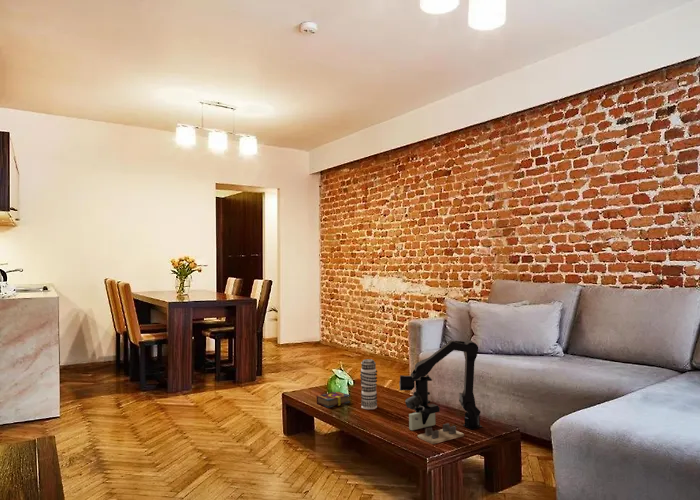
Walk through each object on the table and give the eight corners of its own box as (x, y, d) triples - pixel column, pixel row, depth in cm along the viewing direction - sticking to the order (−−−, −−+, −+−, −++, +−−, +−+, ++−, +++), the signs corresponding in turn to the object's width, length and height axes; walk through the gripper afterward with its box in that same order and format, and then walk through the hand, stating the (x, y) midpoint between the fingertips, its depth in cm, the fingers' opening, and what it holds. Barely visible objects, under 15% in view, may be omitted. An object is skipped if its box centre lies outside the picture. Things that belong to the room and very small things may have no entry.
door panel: (432, 423, 240) (432, 408, 240) (436, 425, 237) (436, 410, 237) (409, 429, 232) (408, 413, 233) (413, 431, 230) (412, 415, 230)
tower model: (378, 409, 264) (377, 361, 265) (360, 409, 264) (359, 361, 265) (377, 404, 273) (376, 358, 274) (360, 404, 274) (359, 358, 274)
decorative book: (316, 403, 277) (316, 394, 278) (339, 398, 287) (339, 389, 288) (328, 408, 269) (328, 399, 269) (351, 402, 279) (351, 393, 279)
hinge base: (448, 429, 232) (448, 420, 232) (463, 436, 223) (463, 426, 223) (417, 437, 222) (417, 428, 222) (432, 444, 214) (432, 434, 214)
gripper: (396, 388, 239) (396, 421, 239) (420, 397, 223) (421, 432, 223) (414, 384, 245) (415, 417, 245) (440, 393, 229) (440, 427, 229)
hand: (422, 423), depth 235 cm, fingers closed on door panel, 2 cm apart
